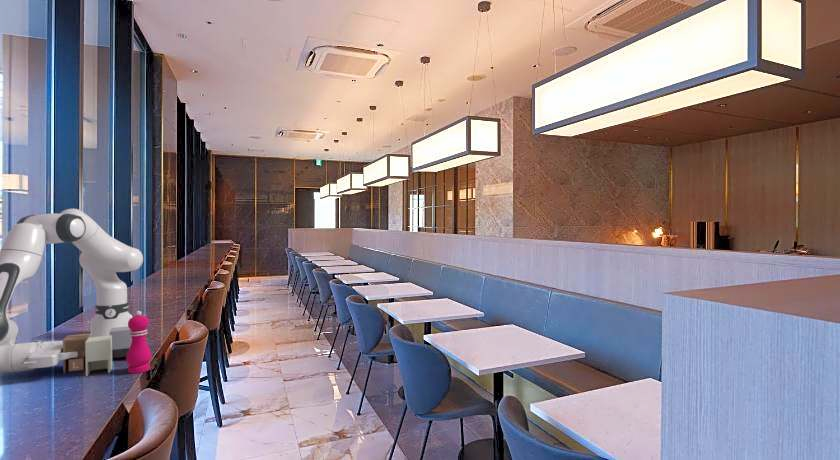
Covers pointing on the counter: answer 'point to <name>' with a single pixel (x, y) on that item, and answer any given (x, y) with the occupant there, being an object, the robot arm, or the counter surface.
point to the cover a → (74, 347)
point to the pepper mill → (138, 345)
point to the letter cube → (76, 364)
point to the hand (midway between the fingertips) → (80, 350)
